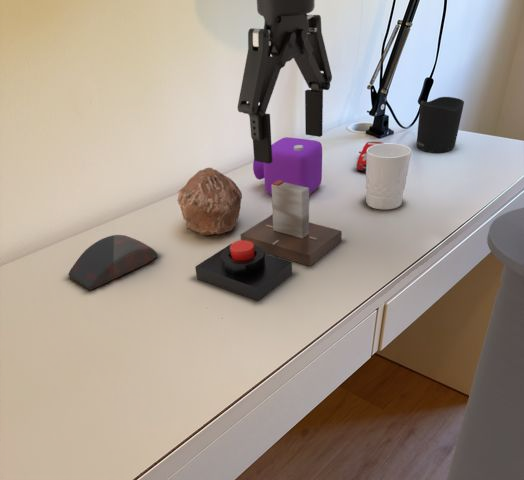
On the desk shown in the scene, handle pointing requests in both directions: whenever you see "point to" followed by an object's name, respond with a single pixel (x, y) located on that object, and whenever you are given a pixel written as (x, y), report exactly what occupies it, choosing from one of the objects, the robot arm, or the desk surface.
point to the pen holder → (439, 124)
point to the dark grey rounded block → (110, 260)
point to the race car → (364, 156)
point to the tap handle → (290, 209)
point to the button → (242, 250)
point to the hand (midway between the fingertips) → (289, 147)
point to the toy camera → (292, 164)
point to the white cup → (386, 175)
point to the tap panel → (293, 241)
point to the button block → (245, 272)
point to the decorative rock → (210, 202)
